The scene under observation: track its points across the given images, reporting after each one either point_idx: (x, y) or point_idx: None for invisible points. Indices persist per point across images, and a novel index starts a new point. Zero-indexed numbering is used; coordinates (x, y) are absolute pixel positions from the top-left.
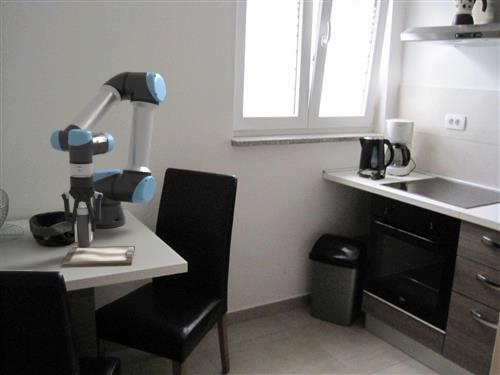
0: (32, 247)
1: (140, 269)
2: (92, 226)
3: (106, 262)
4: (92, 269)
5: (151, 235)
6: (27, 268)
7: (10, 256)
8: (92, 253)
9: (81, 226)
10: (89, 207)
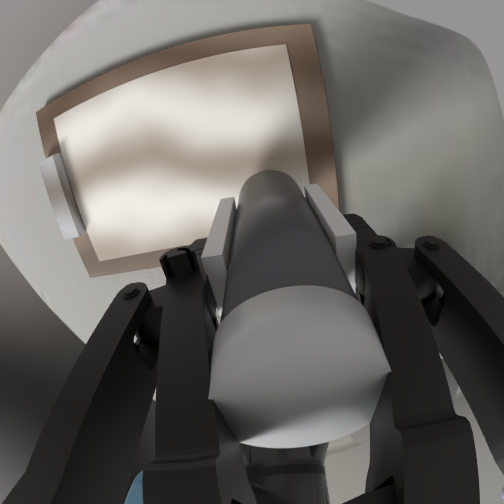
0: (465, 241)
1: (16, 89)
2: (200, 260)
3: (112, 72)
4: (161, 20)
5: None
6: (428, 31)
7: (501, 158)
8: (213, 160)
9: (282, 216)
10: (173, 415)
